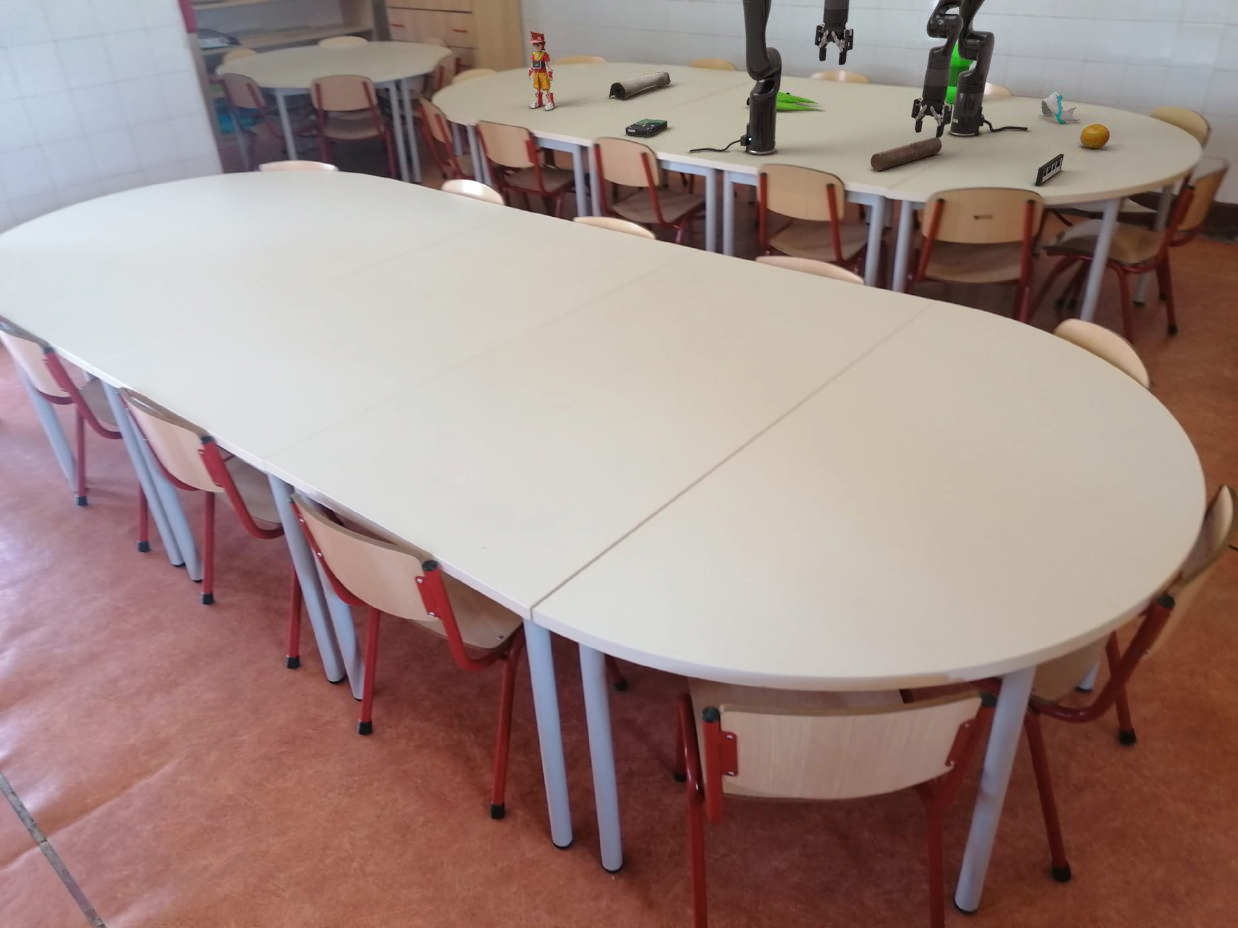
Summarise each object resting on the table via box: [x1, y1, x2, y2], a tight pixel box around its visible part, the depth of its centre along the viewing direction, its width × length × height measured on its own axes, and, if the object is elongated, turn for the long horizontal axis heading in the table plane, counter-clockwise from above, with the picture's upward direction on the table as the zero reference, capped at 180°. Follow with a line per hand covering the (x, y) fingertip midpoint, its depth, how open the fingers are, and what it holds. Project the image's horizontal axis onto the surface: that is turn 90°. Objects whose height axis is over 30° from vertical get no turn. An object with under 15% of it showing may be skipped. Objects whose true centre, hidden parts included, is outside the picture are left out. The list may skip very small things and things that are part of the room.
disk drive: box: [624, 118, 668, 137], centre depth 342 cm, size 10×3×15 cm
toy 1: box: [527, 31, 556, 111], centre depth 374 cm, size 12×9×30 cm
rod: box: [870, 136, 943, 172], centre depth 294 cm, size 28×5×5 cm, turn 123°
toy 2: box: [745, 91, 821, 111], centre depth 360 cm, size 28×5×30 cm
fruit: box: [1079, 123, 1111, 149], centre depth 296 cm, size 8×8×8 cm
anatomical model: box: [1040, 91, 1081, 124], centre depth 325 cm, size 15×10×10 cm
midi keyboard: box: [1035, 153, 1065, 186], centre depth 273 cm, size 18×1×5 cm, turn 138°
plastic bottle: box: [945, 42, 974, 104], centre depth 348 cm, size 10×10×25 cm
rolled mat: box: [608, 71, 672, 101], centre depth 395 cm, size 30×9×10 cm
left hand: (832, 63), depth 284 cm, fingers open, 8 cm apart
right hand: (928, 135), depth 295 cm, fingers open, 8 cm apart
